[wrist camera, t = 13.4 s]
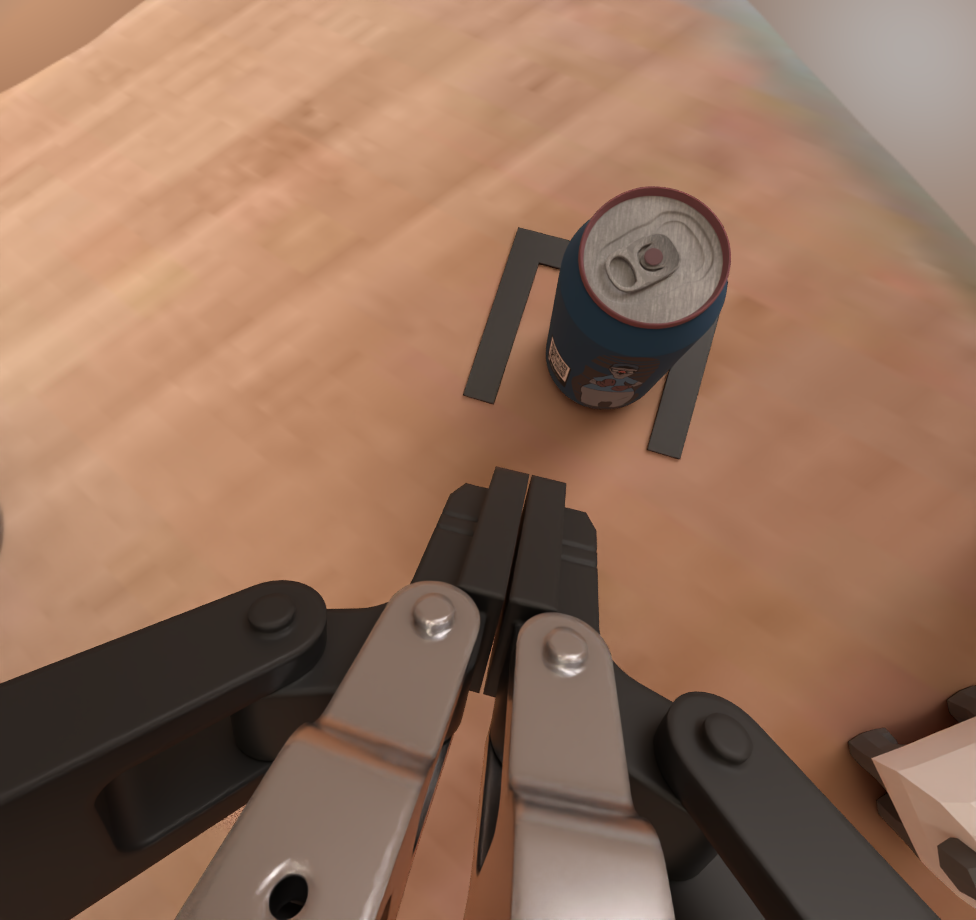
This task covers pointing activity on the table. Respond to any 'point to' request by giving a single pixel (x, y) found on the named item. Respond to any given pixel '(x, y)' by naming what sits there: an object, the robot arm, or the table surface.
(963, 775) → the giant panda
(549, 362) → the soda can
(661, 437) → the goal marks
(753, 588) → the table surface
